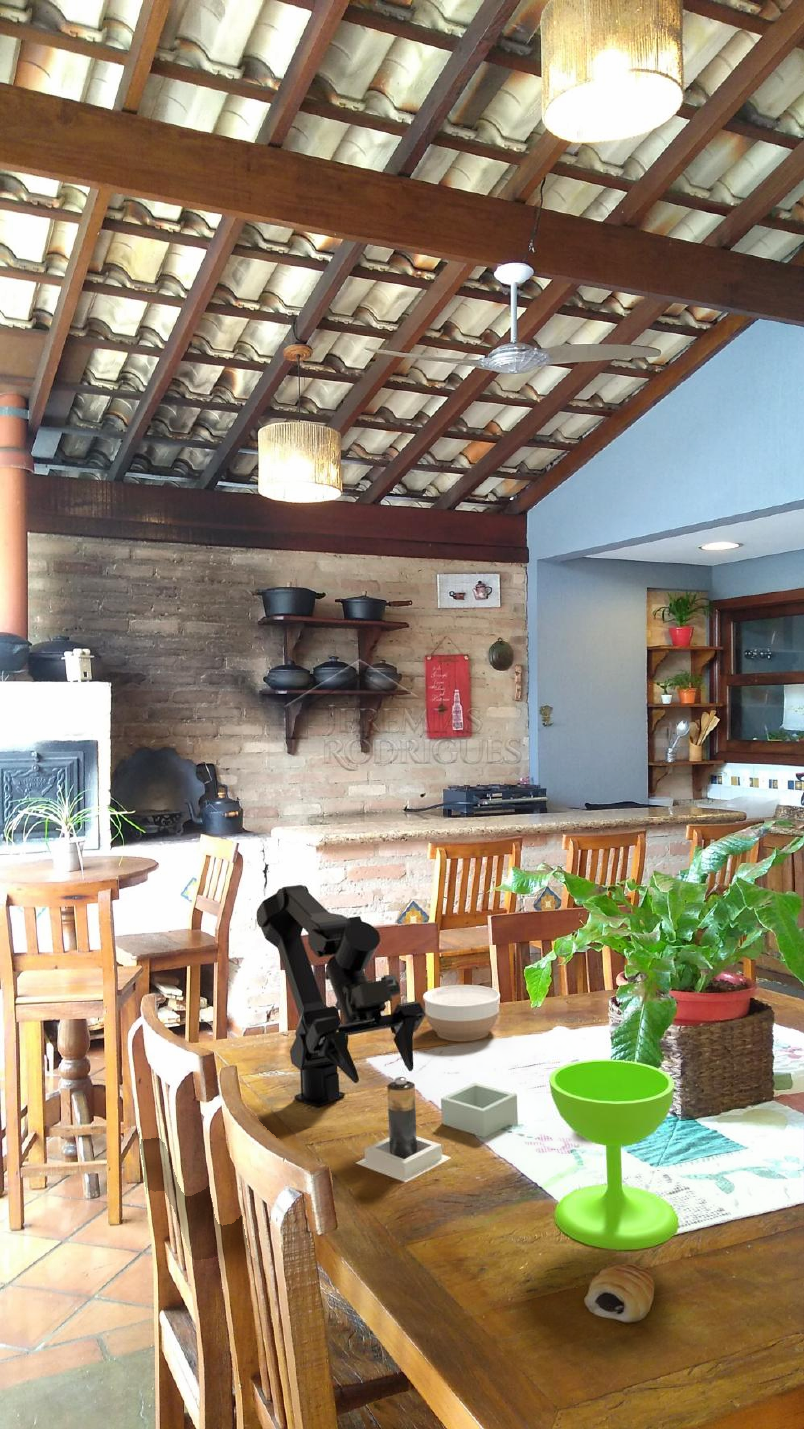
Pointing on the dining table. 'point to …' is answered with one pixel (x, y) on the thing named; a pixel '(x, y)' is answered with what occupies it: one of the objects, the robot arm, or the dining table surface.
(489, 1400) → the dining table surface
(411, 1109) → the cell
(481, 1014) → the bowl
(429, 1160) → the cradle
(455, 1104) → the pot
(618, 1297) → the pastry
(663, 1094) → the wineglass
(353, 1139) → the dining table surface
